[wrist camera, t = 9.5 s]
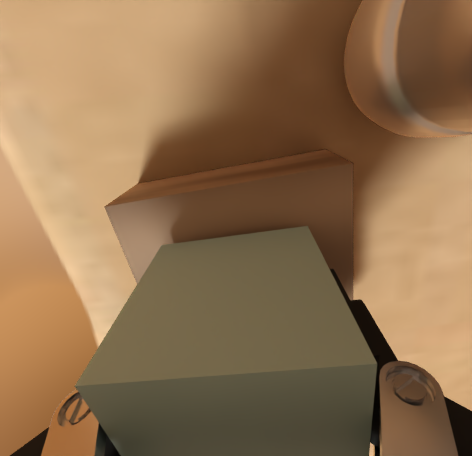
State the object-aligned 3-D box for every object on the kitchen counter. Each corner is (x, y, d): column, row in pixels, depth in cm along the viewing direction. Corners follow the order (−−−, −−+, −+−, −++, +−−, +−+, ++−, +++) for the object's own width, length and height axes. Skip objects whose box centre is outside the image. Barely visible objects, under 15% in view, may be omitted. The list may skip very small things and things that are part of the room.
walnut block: (140, 181, 14) (104, 207, 11) (324, 148, 13) (352, 163, 10) (187, 317, 18) (173, 368, 15) (330, 300, 17) (353, 351, 14)
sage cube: (161, 245, 11) (74, 386, 5) (307, 225, 10) (377, 363, 5) (194, 346, 13) (158, 512, 8) (313, 335, 13) (363, 509, 7)
